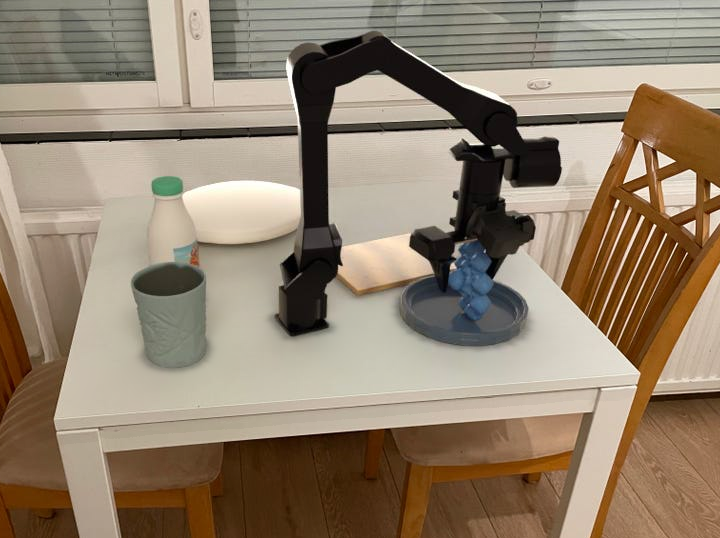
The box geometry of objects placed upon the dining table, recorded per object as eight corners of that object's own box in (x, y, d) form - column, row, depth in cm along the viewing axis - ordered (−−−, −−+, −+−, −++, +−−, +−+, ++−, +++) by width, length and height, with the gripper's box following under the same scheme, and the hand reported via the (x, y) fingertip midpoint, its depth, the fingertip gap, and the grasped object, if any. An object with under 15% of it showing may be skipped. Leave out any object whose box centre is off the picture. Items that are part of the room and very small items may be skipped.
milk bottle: (161, 315, 117) (148, 193, 106) (148, 294, 123) (134, 175, 112) (208, 305, 120) (200, 184, 109) (193, 285, 126) (184, 168, 115)
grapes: (431, 296, 122) (439, 227, 115) (471, 294, 123) (481, 225, 116) (451, 333, 112) (461, 260, 106) (495, 330, 113) (508, 257, 106)
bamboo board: (357, 296, 123) (357, 290, 122) (314, 257, 135) (314, 252, 134) (459, 272, 129) (460, 267, 129) (409, 237, 142) (410, 232, 141)
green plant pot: (213, 333, 113) (208, 261, 106) (209, 371, 104) (203, 295, 98) (145, 334, 113) (136, 262, 106) (135, 372, 104) (125, 296, 98)
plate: (147, 226, 134) (180, 176, 156) (155, 259, 138) (186, 206, 160) (303, 216, 130) (314, 166, 153) (306, 251, 134) (316, 197, 156)
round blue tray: (445, 358, 107) (447, 345, 106) (377, 299, 122) (378, 287, 120) (552, 329, 114) (555, 316, 112) (475, 276, 128) (477, 264, 127)
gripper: (458, 219, 97) (444, 323, 106) (571, 197, 103) (550, 297, 112) (411, 191, 105) (402, 289, 114) (518, 172, 112) (502, 266, 120)
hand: (465, 286), depth 115 cm, fingers open, 8 cm apart
